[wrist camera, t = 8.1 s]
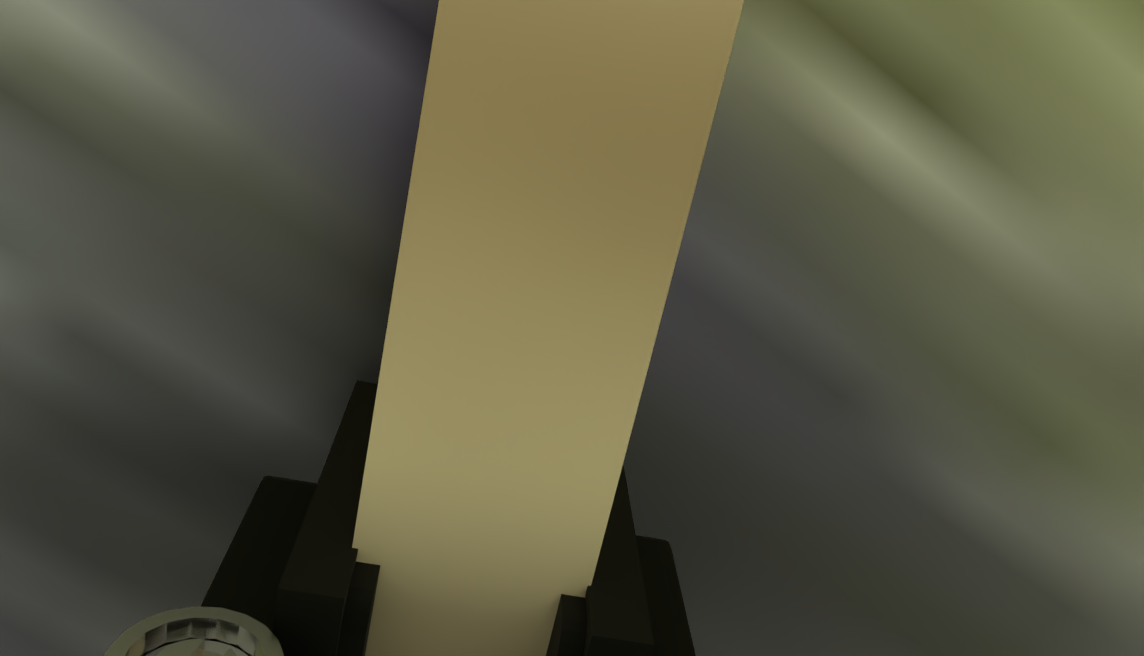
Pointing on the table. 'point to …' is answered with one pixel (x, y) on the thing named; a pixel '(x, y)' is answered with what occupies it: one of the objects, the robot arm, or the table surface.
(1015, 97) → the table surface
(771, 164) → the table surface
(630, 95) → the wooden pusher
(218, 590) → the robot arm
